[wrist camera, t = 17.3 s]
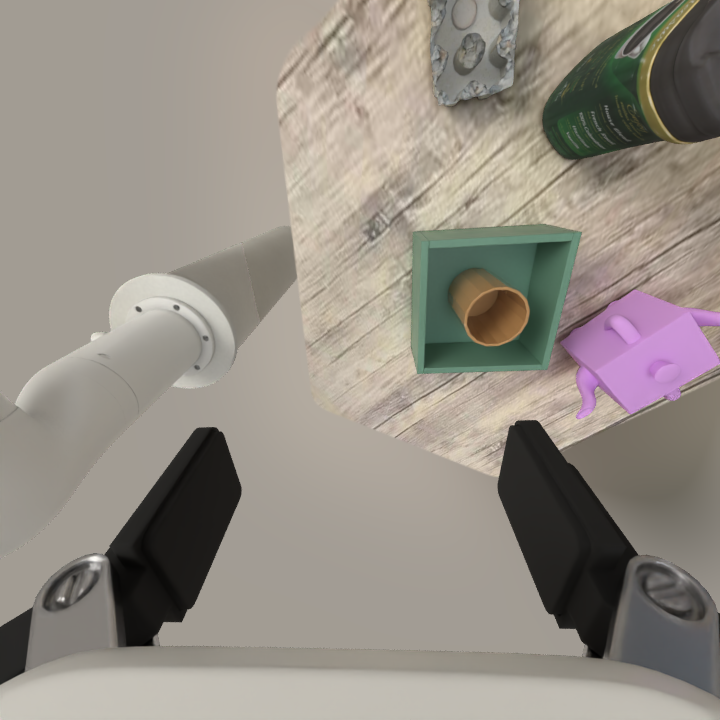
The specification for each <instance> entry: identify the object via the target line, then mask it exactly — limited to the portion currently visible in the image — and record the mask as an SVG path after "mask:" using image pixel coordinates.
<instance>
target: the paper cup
mask: <svg viewBox="0 0 720 720" xmlns="http://www.w3.org/2000/svg"><path fill="white" fill-rule="evenodd" d="M448 303H449V305H450V308H451V310H452V311H453V313H454V314H455V316H456V318H457V319H458V321H459V322H460V324H461V325H462V327H463V329H464V330H465V332H466V333H467V335H468V336H469V337H470V338H471V339H472V340H473V341H474V342H475V343H478V344H481V345H484V346H500V345H502V344H505V343H508V342H510V341H512V340H513V339H514V338H515V337H517V336H518V335H519V334H520V333H521V332H522V330H523V329H524V327H525V326H526V324H527V322H528V318H529V313H530V309H529V305H528V301H527V299H526V298H525V297H524V296H523V295H522V293H521V292H520V291H518V290H517V289H516V288H514V287H513V286H511V285H510V284H509V283H507V282H506V281H504V280H503V279H502V278H500V277H499V276H497V275H496V274H495V273H493V272H492V271H489V270H487V269H484V268H470V269H467V270H465V271H463V272H461V273H460V274H459V275H457V276H456V277H455V279H454V280H453V281H452V283H451V284H450V287H449V290H448Z"/></svg>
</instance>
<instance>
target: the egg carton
mask: <svg viewBox="0 0 720 720" xmlns="http://www.w3.org/2000/svg"><path fill="white" fill-rule="evenodd" d="M427 2H428V5H429V6H431V21H432V28H431V37H430V53H431V64H432V72H433V81H434V82H433V89H432V92H433V95H434V96H435V97H437V98H438V105H439V106H440V105H442V104H444V105H445V107H450V106H454V105H455V104H456V103H457V102H458V101H459V100H461V99H463V100H468V99H471V98H473V97H478V99H480V100H481V99H485V98H488V97H489V96H491V95H492V94H495V93H497V92H499V91H502V90H504V89H506V88H508V87H510V86H512V84H513V78H514V64H515V63H514V54H515V49H516V44H515V42H516V37H517V32H518V13H519V4H520V0H427Z"/></svg>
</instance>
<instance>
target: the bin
mask: <svg viewBox="0 0 720 720" xmlns="http://www.w3.org/2000/svg"><path fill="white" fill-rule="evenodd" d="M581 233H582V232H579V231H574V230H569V229H565V228H560V227H555V226H551V225H546V224H538V225H520V226H503V227H486V228H469V229H452V230H434V231H417V232H413V259H412V315H411V349H412V353H413V357H414V361H415V366H416V370H417V374H423V373H424V374H429V373H461V372H493V371H525V370H547V369H548V365H549V361H550V357H551V353H552V349H553V345H554V341H555V337H556V333H557V329H558V325H559V321H560V317H561V313H562V309H563V305H564V301H565V297H566V293H567V289H568V285H569V281H570V277H571V273H572V269H573V265H574V261H575V257H576V253H577V249H578V245H579V241H580V237H581ZM470 268H484V269H487V270H489V271H492V272H493V273H495V274H496V275H497V276H499V277H500V278H502V279H503V280H504V281H506V282H507V283H509V284H510V285H511V286H513V287H514V288H516V289H517V290H518V291H520V292H521V293H522V295H523V296H524V297H525V298H526V299H527V301H528V305H529V309H530V313H529V318H528V322H527V324H526V326H525V327H524V329H523V330H522V332H521V333H520V334H519V335H518V336H517V337H515V338H514V339H513V340H512V341H510V342H508V343H505V344H502V345H500V346H484V345H481V344H478V343H475V342H474V341H473V340H472V339H471V338H470V337H469V336H468V335H467V333H466V332H465V330H464V329H463V327H462V325H461V324H460V322H459V321H458V319H457V318H456V316H455V314H454V313H453V311H452V310H451V308H450V305H449V303H448V290H449V287H450V284H451V283H452V281H453V280H454V279H455V277H456V276H457V275H459V274H460V273H461V272H463V271H465V270H467V269H470Z"/></svg>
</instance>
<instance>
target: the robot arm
mask: <svg viewBox="0 0 720 720" xmlns="http://www.w3.org/2000/svg"><path fill="white" fill-rule="evenodd" d="M214 352H215V340H214V336H213V333H212V330H211V328H210V326H209V325H208V323H207V322H206V320H205V319H204V318H203V317H202V315H201V314H200V313H199V312H198V311H196V310H195V309H194V308H193V307H191V306H190V305H188V304H186V303H184V302H183V301H180V300H178V299H175V298H171V297H167V296H154V297H149V298H146V299H144V300H142V301H140V302H138V303H136V304H135V305H134V306H133V307H132V308H131V309H130V311H129V312H128V314H127V317H126V321H125V324H123V325H121V326H119V327H117V328H116V329H114V330H112V331H110V332H97V333H93V334H92V335H91V342H90V343H88V344H87V345H85V346H83V347H81V348H79V349H77V350H75V351H74V352H72V353H70V354H68V355H66V356H65V357H63V358H61V359H59V360H57V361H55V362H53V363H52V364H50V365H48V366H46V367H45V368H43V369H42V370H40V371H39V372H37V373H36V374H35V375H34V376H33V377H32V378H31V379H30V380H29V382H28V383H27V384H26V385H25V386H24V388H23V389H22V391H21V393H20V394H19V396H18V398H17V400H16V402H15V404H14V403H13V402H12V401H11V400H9V399H8V398H7V397H6V396H5V395H4V394H3V393H2V392H1V391H0V558H2V557H4V556H7V555H9V554H10V553H12V552H14V551H15V550H17V549H19V548H21V547H22V546H24V545H25V544H26V543H28V542H29V541H30V540H32V539H33V538H34V537H36V536H37V535H38V534H39V533H40V532H41V531H42V530H44V528H45V527H46V526H47V525H48V524H49V523H50V522H51V521H52V520H53V519H54V518H55V517H56V516H57V515H58V514H59V512H60V511H61V510H62V509H63V507H64V506H65V505H66V503H67V502H68V501H69V499H70V498H71V496H72V495H73V494H74V492H75V491H76V489H77V488H78V486H79V485H80V483H81V482H82V480H83V479H84V478H85V476H86V475H87V474H88V472H89V471H90V469H91V468H92V467H93V466H94V464H95V463H96V462H97V460H98V459H99V458H100V457H101V456H102V455H103V454H104V453H105V452H106V450H107V449H108V448H109V447H110V446H111V445H112V444H113V443H114V442H115V441H116V440H117V439H118V438H119V437H120V436H121V435H122V434H123V433H124V432H125V431H126V430H127V429H128V428H129V427H130V426H131V425H132V424H133V423H134V422H135V421H136V420H137V419H138V418H139V417H140V416H141V415H142V414H143V413H144V412H145V411H146V410H147V409H148V408H149V407H150V406H151V405H152V404H153V403H154V402H155V401H156V400H157V399H159V397H160V396H162V394H164V393H165V392H166V391H167V390H168V389H169V387H171V386H172V385H173V384H174V383H175V382H176V381H177V380H178V379H179V378H180V377H181V376H190V375H193V374H196V373H198V372H200V371H202V370H203V369H204V368H205V367H206V366H207V365H208V364H209V363H210V362H211V360H212V358H213V356H214ZM498 493H499V496H500V499H501V501H502V504H503V506H504V509H505V511H506V514H507V516H508V519H509V521H510V524H511V526H512V528H513V531H514V533H515V536H516V538H517V541H518V543H519V546H520V548H521V551H522V553H523V555H524V558H525V560H526V563H527V565H528V568H529V570H530V573H531V575H532V578H533V580H534V583H535V585H536V588H537V590H538V592H539V595H540V597H541V600H542V602H543V605H544V607H545V609H546V611H547V612H548V613H549V614H554V616H555V619H556V621H557V624H558V626H559V628H562V629H576V630H577V632H578V634H579V636H580V639H581V641H582V642H583V643H584V644H585V646H584V650H583V654H582V657H577V656H561V655H540V654H519V653H493V652H491V653H490V652H453V651H418V650H374V649H373V650H372V649H327V648H326V649H325V648H277V647H276V648H275V647H213V646H211V647H209V646H160V644H159V638H158V632H159V630H160V628H161V626H162V624H163V622H182V621H183V618H184V616H185V614H186V612H187V609H191V608H192V607H193V605H194V604H195V602H196V600H197V597H198V595H199V593H200V590H201V588H202V586H203V583H204V581H205V579H206V576H207V574H208V572H209V569H210V567H211V565H212V563H213V560H214V558H215V556H216V553H217V551H218V549H219V546H220V544H221V542H222V539H223V537H224V534H225V532H226V530H227V527H228V525H229V523H230V521H231V518H232V516H233V513H234V511H235V509H236V507H237V504H238V502H239V500H240V497H241V484H240V482H239V479H238V476H237V473H236V470H235V467H234V464H233V461H232V458H231V455H230V452H229V449H228V446H227V443H226V440H225V437H224V434H223V433H222V432H219V430H218V429H217V428H215V427H206V428H197V429H196V430H195V431H194V432H193V433H192V435H191V436H190V437H189V439H188V440H187V441H186V443H185V444H184V446H183V447H182V448H181V450H180V451H179V452H178V454H177V455H176V457H175V458H174V459H173V460H172V462H171V463H170V465H169V466H168V467H167V469H166V470H165V471H164V473H163V474H162V476H161V477H160V478H159V479H158V481H157V482H156V484H155V485H154V486H153V488H152V489H151V490H150V492H149V493H148V494H147V496H146V497H145V498H144V500H143V501H142V503H141V504H140V505H139V507H138V508H137V509H136V511H135V512H134V513H133V515H132V516H131V517H130V519H129V520H128V522H127V523H126V524H125V526H124V527H123V528H122V530H121V531H120V532H119V534H118V535H117V536H116V538H115V539H114V541H113V542H112V543H111V545H110V548H109V549H108V551H107V552H106V553H105V555H103V554H97V553H93V554H89V555H85V556H82V557H80V558H77V559H75V560H73V561H71V562H70V563H68V564H67V565H65V566H63V567H62V568H61V569H60V570H59V571H57V572H56V573H55V574H54V575H53V576H51V578H50V579H49V580H48V581H47V582H46V583H45V584H44V586H43V587H42V588H41V590H40V591H39V593H38V594H37V596H36V599H35V602H34V605H33V607H32V608H31V609H29V610H27V611H26V612H24V613H22V614H21V615H19V616H17V617H16V618H14V619H13V620H11V621H9V622H7V623H6V624H4V625H3V626H1V627H0V720H720V613H718V612H717V608H716V605H715V603H714V601H713V600H712V598H711V596H710V595H709V593H708V592H707V590H706V589H705V588H704V587H703V586H702V585H701V584H700V583H699V582H698V581H697V580H696V579H695V578H694V577H692V576H691V575H690V574H689V573H688V572H686V571H685V570H683V569H682V568H680V567H678V566H677V565H675V564H673V563H672V562H669V561H667V560H664V559H662V558H659V557H655V556H650V555H641V556H640V555H638V554H637V552H636V551H635V550H634V548H633V547H632V545H631V544H630V543H629V541H628V540H627V538H626V537H625V536H624V534H623V533H622V531H621V530H620V529H619V527H618V526H617V524H616V523H615V522H614V520H613V519H612V517H611V516H610V515H609V513H608V512H607V511H606V509H605V508H604V506H603V505H602V504H601V502H600V501H599V499H598V498H597V497H596V495H595V494H594V493H593V491H592V490H591V488H590V487H589V486H588V484H587V483H586V481H585V480H584V479H583V477H582V476H581V474H580V473H579V472H578V470H577V469H576V468H575V467H574V466H573V465H571V464H570V463H567V461H566V460H565V458H564V457H563V456H562V454H561V453H560V451H559V450H558V448H557V447H556V446H555V444H554V443H553V441H552V440H551V438H550V437H549V436H548V434H547V433H546V431H545V430H544V429H543V427H542V426H541V424H540V423H539V422H538V421H536V420H524V421H516V422H515V425H512V426H510V427H509V431H508V436H507V441H506V446H505V451H504V456H503V461H502V465H501V470H500V475H499V480H498Z"/></svg>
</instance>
